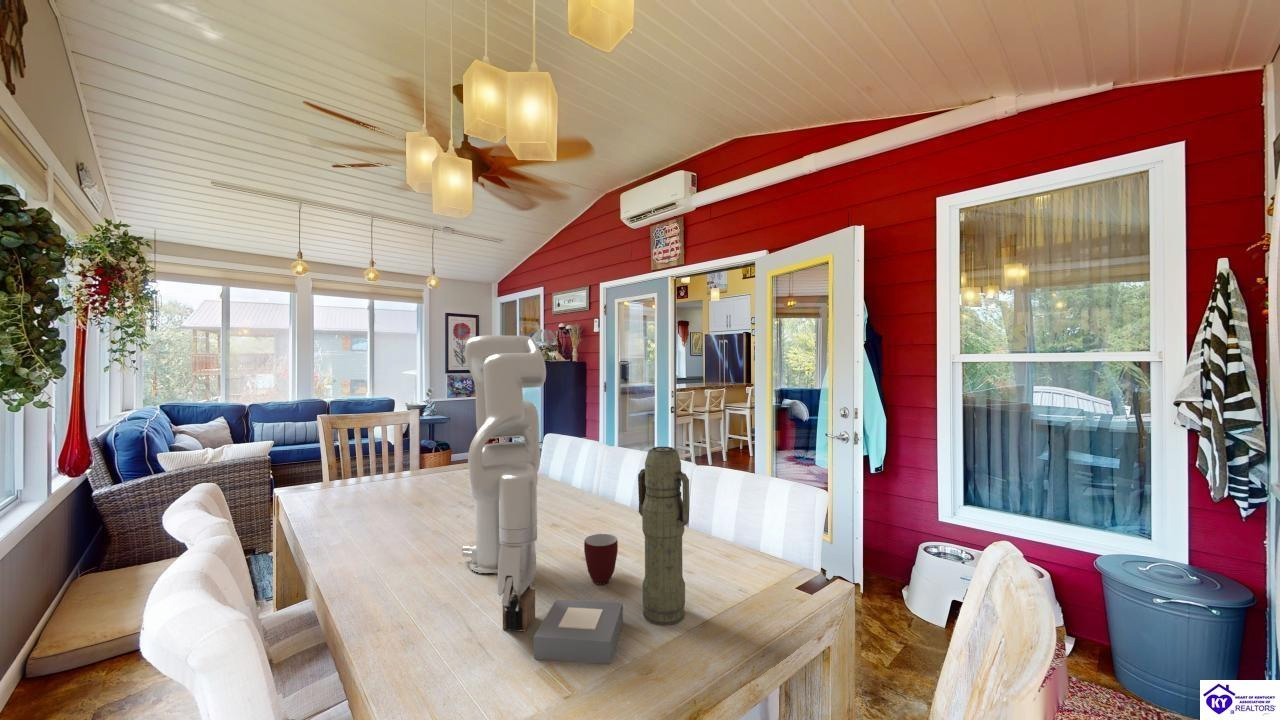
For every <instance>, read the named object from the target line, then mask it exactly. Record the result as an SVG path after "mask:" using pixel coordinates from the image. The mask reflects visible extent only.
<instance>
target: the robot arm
mask: <svg viewBox="0 0 1280 720" xmlns="http://www.w3.org/2000/svg"><path fill="white" fill-rule="evenodd" d="M464 351H465V360H466V363H467V367H468V369H469V372H470V375H471V377H472V379H473V383H474V389H475V390H474V391H475V420H476V421H475V423H476V430H477V432H476V433H475V435H474V437H473V439H472V441H471V443H470V445H469V448H468V449H469V450H468V455H467V463H468V464H467V465H468V467H467V469H468V484H469V492H470V496H471V498H472V499H473V500H474V505H475V506H474V509H475V510H474V518H475V521H474V522H475V545H474V546H471V545H469V546H468V545H464V546H462V549H461V553H462V557H463V558H464V557H465V558H467V557H469V558H471V559H470V561H469V569H470V570H471V571H472V570H473V571H472V572H474V571H475V572H474V573H476V572H478V573H477V574H481V573H494V574H497V584H496V585H497V587H496V591H497V595H498V596H501V597H502V600H501V605H502V606H503V605H504V606H505V611H506V629H510V630H509V631H515V630H521V629H522V609H520V604H521V595H522V594H523V593H524V591H525V590H526V589H533V581H534V579H535V578H536V572H537V551H536V541H537V540H538V499H537V498H538V489H537V488H538V481H539V480H538V479H539V478H538V472H539V471H540V470H539V469H540V465H541V464H540V463H541V458H540V455H541V453H540V452H541V451H540V450H541V449H540V424H539V423H540V422H539V421H540V420H539V414H538V410H537V406H536V405H535V404H534V403H533V402H531V401H529V400H524V395H523V394H524V393H523V389H526V388H527V389H528V388H530V389H531V388H540V387H542V386H543V385H544V383H545V382H546V377H547V368H546V362H545V359H544V356H543V353H542V351H541V349H540V347H539V345H538V343H537V342H536V340H535V339H534V338H533V337H531V336H529V335H496V334H495V335H494V334H493V335H492V334H491V335H490V334H488V335H486V334H485V335H477V336H473V337H471V338H469V339H468V340H467V342H466V344H465V349H464ZM503 438H520V440H521V441H512V442H509V441H508V442H498V443H497V442H495V443H488V444H487V442H488V441H489V440H490V439H503ZM513 590H515V591H517V593H512V591H513ZM511 597H517V598H516V602H515V601H512V599H511Z"/></svg>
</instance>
